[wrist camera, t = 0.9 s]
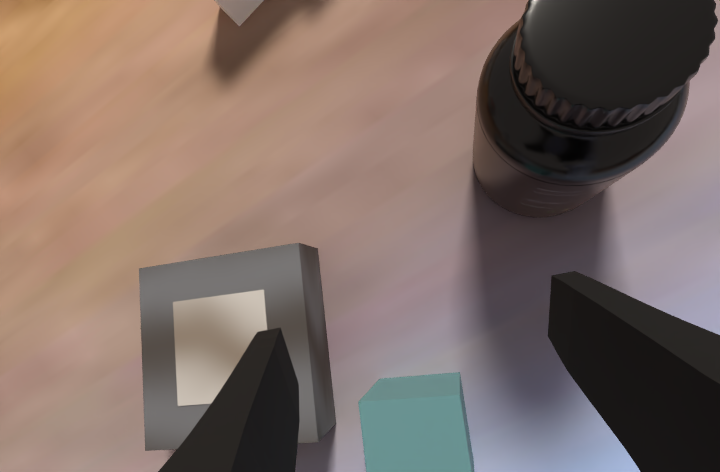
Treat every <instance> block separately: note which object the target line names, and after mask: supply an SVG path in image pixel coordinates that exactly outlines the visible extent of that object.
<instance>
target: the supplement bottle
mask: <svg viewBox="0 0 720 472" xmlns="http://www.w3.org/2000/svg"><path fill="white" fill-rule="evenodd" d="M715 8H716V3H715V1H714V0H529V1H528V2H527V4H526V8H525V12H524V14H523V16H522V17H521V19H520V20H519V21H517V22H516V23H515V24H514V25H513V26H511V27H510V28H509V29H508V30H507V31H506V32H505V33H504V34H503V35H502V37H501V38H500V39H499V40H498V41H497V43H496V44H495V46H494V47H493V49H492V50H491V52H490V54H489V55H488V57H487V59H486V61H485V64H484V66H483V69H482V72H481V76H480V80H479V84H478V90H477V100H476V113H475V127H474V141H473V164H474V170H475V173H476V176H477V179H478V181H479V183H480V185H481V187H482V188H483V190H484V191H485V192H486V194H487V195H488V196H489V197H490V198H491V199H492V200H493V201H494V202H496V203H497V204H498V205H500V206H501V207H503V208H505V209H507V210H509V211H511V212H514V213H516V214H520V215H524V216H530V217H548V216H554V215H558V214H562V213H565V212H567V211H570V210H572V209H574V208H576V207H578V206H579V205H581V204H583V203H585V202H586V201H588V200H589V199H591V198H592V197H594V196H595V195H597V194H598V193H600V192H601V191H603V190H604V189H606V188H607V187H609V186H610V185H612V184H613V183H615V182H616V181H618V180H619V179H621V178H622V177H624V176H625V175H627V174H628V173H630V172H631V171H633V170H634V169H636V168H637V167H639V166H640V165H641V164H643V163H644V162H645V161H647V160H648V159H649V158H650V157H651V156H653V155H654V154H655V153H656V152H657V151H658V150H659V149H660V148H661V147H662V146H663V145H664V144H665V143H666V142H667V141H668V139H669V138H670V137H671V135H672V134H673V133H674V131H675V129H676V127H677V126H678V124H679V122H680V120H681V118H682V116H683V113H684V110H685V107H686V104H687V100H688V95H689V85H690V80H691V79H692V78H693V77H694V76H695V75H696V74H697V72H698V70H699V67H700V64H701V63H703V62H704V61H705V60H706V59H707V57H708V55H709V46H710V45H711V44H712V43H713V41H714V40H715V32H714V28H715V26H716V24H717V22H718V19H717V16H716V15H715V13H714V11H715Z"/></svg>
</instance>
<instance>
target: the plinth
mask: <svg viewBox="0 0 720 472" xmlns="http://www.w3.org/2000/svg"><path fill="white" fill-rule="evenodd" d="M139 282H140V311H141V340H142V369H143V398H144V427H145V451H149V450H170V449H178V448H179V446H180V445H181V444H182V443H183V441H184V440H185V439H186V437H187V436H188V435H189V434H190V432H191V431H192V430H193V428H194V427H195V425H196V424H197V423H198V421H199V420H200V419H201V417H202V416H203V414H204V413H205V412H206V410H207V409H208V407H209V406H210V405H211V403H212V402H213V400H214V399H215V397H216V396H217V394H218V393H219V391H220V390H221V388H222V387H223V385H224V384H225V382H226V381H227V379H228V378H229V376H230V375H231V373H232V372H233V370H234V368H235V367H236V365H237V364H238V362H239V360H240V359H241V357H242V355H243V354H244V352H245V351H246V349H247V347H248V346H249V344H250V342H251V341H252V339H253V338H254V336H255V335H256V333H257V332H259V331H264V330H269V329H275V328H280V327H281V331H282V334H283V337H284V340H285V343H286V346H287V349H288V352H289V355H290V358H291V361H292V365H293V368H294V371H295V374H296V377H297V380H298V383H299V419H300V422H299V433H298V443H314V442H319V441H320V440H321V439H322V438H323V437H324V436H325V435H326V433H327V432H328V431H329V430H330V429H331V428H332V427H333V426H334V425H335V424H336V419H335V409H334V400H333V390H332V381H331V371H330V362H329V352H328V343H327V333H326V324H325V314H324V305H323V296H322V286H321V277H320V267H319V258H318V248H314V247H311V246H307V245H304V244H301V243H295V244H288V245H282V246H276V247H270V248H264V249H257V250H251V251H245V252H239V253H233V254H226V255H220V256H214V257H208V258H202V259H195V260H189V261H183V262H177V263H171V264H165V265H158V266H152V267H146V268H140V269H139Z"/></svg>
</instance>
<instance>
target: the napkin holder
mask: <svg viewBox="0 0 720 472" xmlns="http://www.w3.org/2000/svg"><path fill="white" fill-rule="evenodd" d="M214 1H215V2H216V3H217V4H218V5H219V7H220V8H221V9H222V10H223V11H224V12H225V13H226V14H227V15H228V16H229V17H230V18H231V19H232V20H233V21H234V22H235V23H236V24H237V25H238V26H240V25H241V24H242V23H243V22H244V21H245V20H246V19H247V18H248V17H249V16H250V15H251V14H252V13H253V12H254V10H255V9H256V8H257V7H258V6H259V5H260V4H261V3H262V2H263V1H264V0H214Z"/></svg>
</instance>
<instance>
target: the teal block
mask: <svg viewBox="0 0 720 472" xmlns="http://www.w3.org/2000/svg"><path fill="white" fill-rule="evenodd" d="M358 403H359V411H360V420H361V429H362V437H363V446H364V455H365V464H366V472H474V461H473V454H472V448H471V441H470V435H469V428H468V422H467V415H466V409H465V402H464V396H463V390H462V383H461V377H460V372H458V373H446V374H433V375H421V376H409V377H396V378H384V379H379V380H378V381H377V382H376V383H375V384H374V386H373V387H372V388H371V389H370V390H369V391H368V392H367V393H366V394H365V395H364V396H363V397H362V399H361V400H360V401H359V402H358Z"/></svg>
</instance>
